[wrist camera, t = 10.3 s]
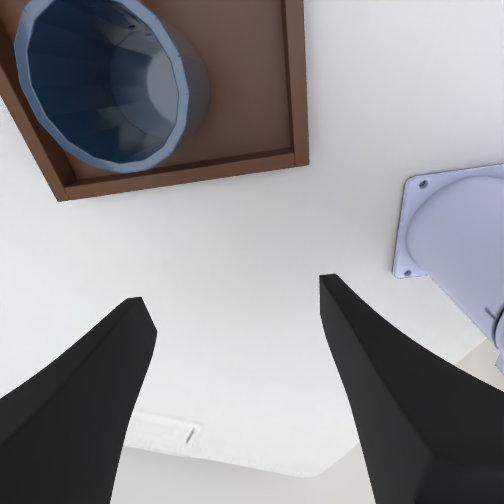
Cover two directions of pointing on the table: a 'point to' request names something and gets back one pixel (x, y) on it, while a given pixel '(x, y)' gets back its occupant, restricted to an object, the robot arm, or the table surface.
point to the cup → (111, 80)
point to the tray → (222, 99)
